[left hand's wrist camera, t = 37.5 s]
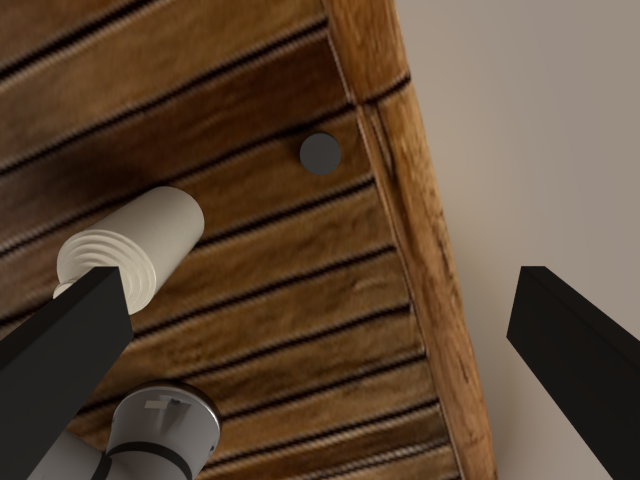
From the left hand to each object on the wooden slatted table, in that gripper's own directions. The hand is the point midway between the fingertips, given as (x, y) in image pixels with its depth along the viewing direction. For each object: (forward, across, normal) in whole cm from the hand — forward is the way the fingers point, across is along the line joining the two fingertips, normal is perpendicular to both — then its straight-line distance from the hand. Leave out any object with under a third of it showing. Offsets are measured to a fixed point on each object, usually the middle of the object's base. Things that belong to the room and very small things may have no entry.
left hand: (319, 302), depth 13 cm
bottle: (+32, +18, +8) cm, 38 cm away
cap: (+31, 0, 0) cm, 31 cm away
